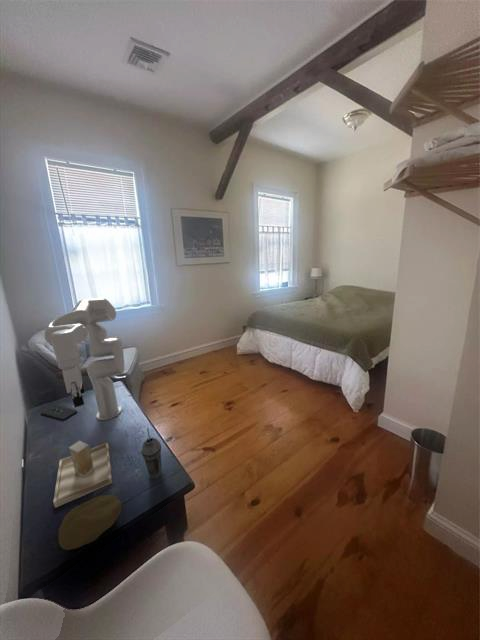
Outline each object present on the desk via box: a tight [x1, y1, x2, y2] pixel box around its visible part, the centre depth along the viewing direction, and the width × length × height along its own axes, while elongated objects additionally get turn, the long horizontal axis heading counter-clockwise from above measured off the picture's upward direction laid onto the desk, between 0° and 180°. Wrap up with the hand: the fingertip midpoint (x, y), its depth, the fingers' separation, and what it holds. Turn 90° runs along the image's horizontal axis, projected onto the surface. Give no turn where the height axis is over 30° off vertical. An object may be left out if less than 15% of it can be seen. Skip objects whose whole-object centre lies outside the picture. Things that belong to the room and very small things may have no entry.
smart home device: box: [40, 404, 78, 421], centre depth 143 cm, size 8×2×20 cm
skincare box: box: [68, 440, 94, 478], centre depth 99 cm, size 6×4×12 cm
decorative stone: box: [58, 494, 123, 551], centre depth 77 cm, size 17×11×10 cm, turn 131°
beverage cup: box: [140, 427, 163, 479], centre depth 96 cm, size 7×7×20 cm
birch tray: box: [52, 442, 113, 508], centre depth 100 cm, size 22×18×2 cm
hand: (79, 399), depth 102 cm, fingers open, 9 cm apart
